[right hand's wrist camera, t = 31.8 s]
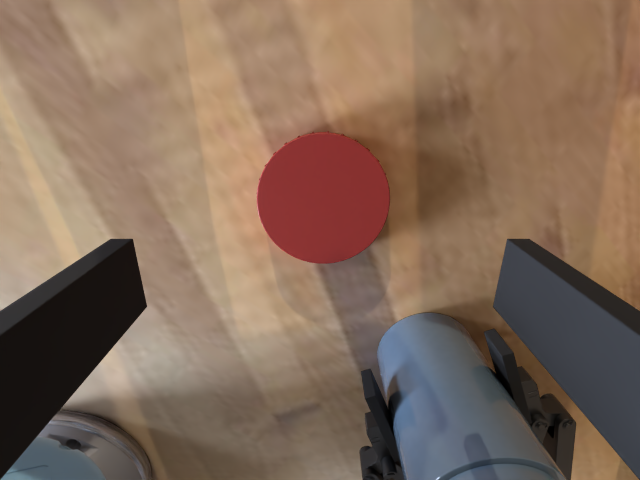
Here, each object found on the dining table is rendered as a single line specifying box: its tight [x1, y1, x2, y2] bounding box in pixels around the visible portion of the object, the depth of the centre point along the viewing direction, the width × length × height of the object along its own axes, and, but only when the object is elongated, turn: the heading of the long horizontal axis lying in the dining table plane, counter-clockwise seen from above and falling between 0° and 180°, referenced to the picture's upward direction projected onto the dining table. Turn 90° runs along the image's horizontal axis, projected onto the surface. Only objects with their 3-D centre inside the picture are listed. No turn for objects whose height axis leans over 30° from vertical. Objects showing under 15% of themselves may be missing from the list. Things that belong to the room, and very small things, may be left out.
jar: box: [377, 313, 567, 480], centre depth 25 cm, size 9×9×15 cm
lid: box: [257, 131, 390, 263], centre depth 27 cm, size 10×10×2 cm
